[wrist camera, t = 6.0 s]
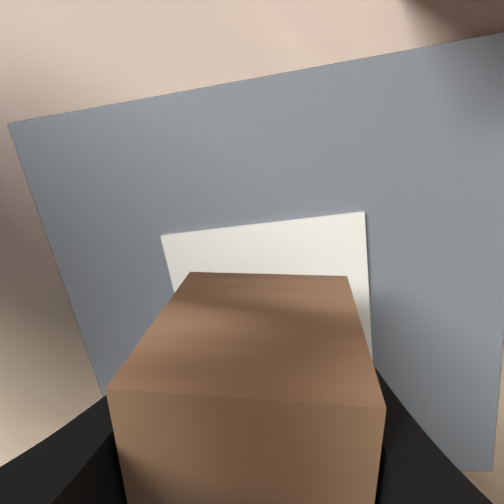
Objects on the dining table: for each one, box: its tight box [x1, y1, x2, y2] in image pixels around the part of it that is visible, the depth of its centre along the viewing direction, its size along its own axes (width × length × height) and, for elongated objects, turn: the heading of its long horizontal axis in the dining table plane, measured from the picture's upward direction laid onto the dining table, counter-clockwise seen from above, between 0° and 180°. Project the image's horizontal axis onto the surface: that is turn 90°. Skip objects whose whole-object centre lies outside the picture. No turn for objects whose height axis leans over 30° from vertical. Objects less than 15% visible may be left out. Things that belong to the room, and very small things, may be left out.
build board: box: [7, 32, 504, 471], centre depth 14 cm, size 16×16×1 cm
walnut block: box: [105, 272, 386, 504], centre depth 9 cm, size 4×4×5 cm
